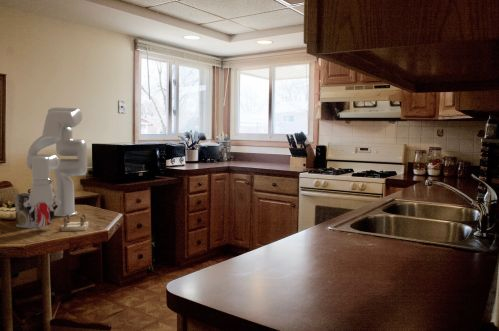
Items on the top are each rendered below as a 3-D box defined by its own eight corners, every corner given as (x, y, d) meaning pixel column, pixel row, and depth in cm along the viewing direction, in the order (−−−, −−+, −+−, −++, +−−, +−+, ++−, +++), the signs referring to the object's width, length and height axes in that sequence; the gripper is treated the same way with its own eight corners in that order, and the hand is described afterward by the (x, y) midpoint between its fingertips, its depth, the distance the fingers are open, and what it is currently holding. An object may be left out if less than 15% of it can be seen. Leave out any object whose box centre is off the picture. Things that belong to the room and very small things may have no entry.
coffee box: (40, 225, 209) (39, 193, 207) (29, 228, 203) (28, 195, 201) (26, 224, 212) (25, 192, 210) (15, 226, 206) (14, 194, 204)
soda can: (47, 228, 196) (46, 203, 195) (32, 227, 196) (31, 202, 195) (54, 224, 203) (53, 199, 202) (39, 223, 203) (38, 199, 202)
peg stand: (65, 225, 209) (64, 214, 209) (88, 225, 212) (88, 213, 211) (61, 231, 199) (60, 218, 198) (85, 230, 201) (85, 217, 201)
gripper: (63, 180, 203) (64, 216, 205) (23, 181, 199) (25, 218, 201) (60, 183, 196) (61, 220, 198) (19, 184, 191) (20, 222, 194)
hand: (43, 219), depth 199 cm, fingers closed on soda can, 7 cm apart
